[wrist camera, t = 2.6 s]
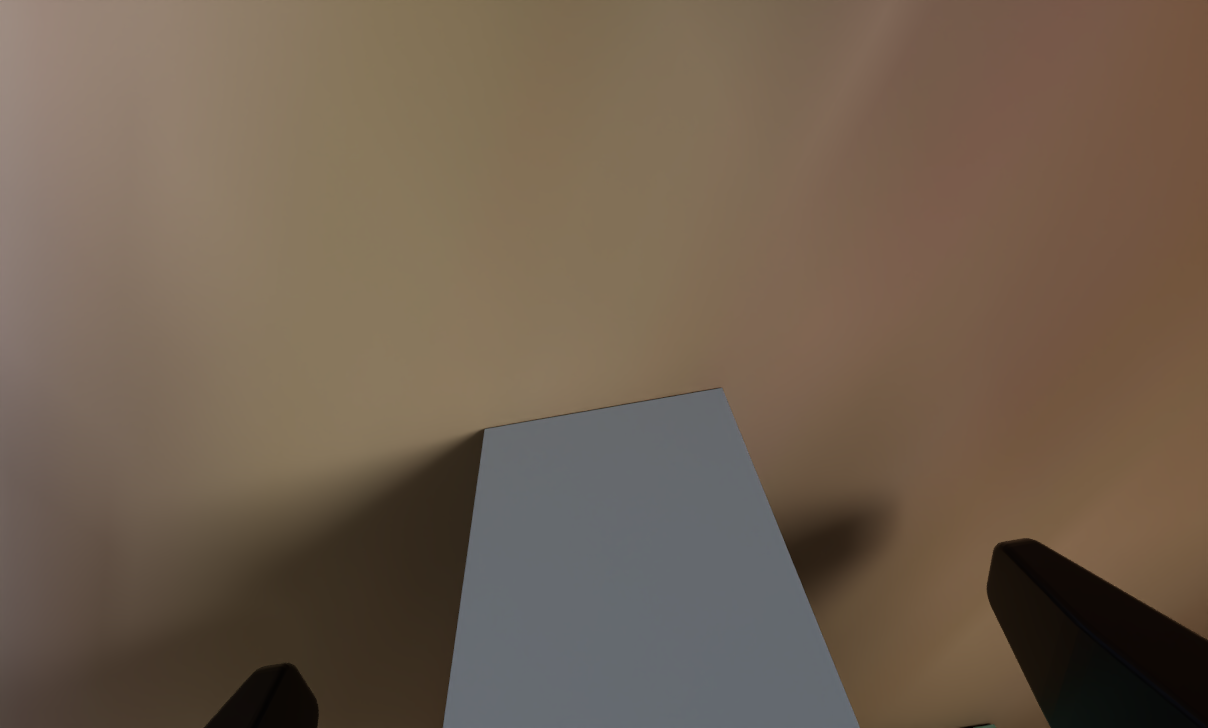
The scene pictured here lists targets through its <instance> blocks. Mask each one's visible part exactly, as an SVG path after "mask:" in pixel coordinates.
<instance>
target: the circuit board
mask: <svg viewBox="0 0 1208 728" xmlns="http://www.w3.org/2000/svg"><path fill="white" fill-rule="evenodd" d="M975 728H996V727H995V725H994V724H993V725H987V726H981V727H975Z"/></svg>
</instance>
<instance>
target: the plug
mask: <svg viewBox="0 0 1208 728" xmlns="http://www.w3.org/2000/svg"><path fill="white" fill-rule="evenodd" d="M443 728H860V727H859V724H858V722H857V720H856V717H855V715H854V712H853V710H852V707H851V705H850V702H849V700H848V697H847V695H846V692H845V690H844V687H843V685H842V683H841V680H840V678H839V675H838V673H837V670H836V668H835V665H834V663H833V660H832V658H831V655H830V653H829V650H828V648H827V646H826V643H825V641H824V638H823V636H822V633H821V631H820V628H819V626H818V623H817V621H816V618H815V616H814V613H813V611H812V609H811V606H810V604H809V601H808V599H807V596H806V594H805V591H804V589H803V586H802V584H801V581H800V579H799V576H798V574H797V572H796V569H795V567H794V564H793V562H792V559H791V557H790V554H789V552H788V549H787V547H786V544H785V542H784V539H783V537H782V535H781V532H780V530H779V527H778V525H777V522H776V520H775V517H774V515H773V512H772V510H771V507H770V505H769V502H768V500H767V498H766V495H765V493H764V490H763V488H762V485H761V483H760V480H759V478H758V475H757V473H756V470H755V468H754V466H753V463H752V461H751V458H750V456H749V453H748V451H747V448H746V446H745V443H744V441H743V438H742V436H741V433H740V431H739V429H738V426H737V424H736V421H735V419H734V416H733V414H732V411H731V409H730V406H729V404H728V401H727V399H726V396H725V394H724V392H723V389H722V388H718V389H713V390H707V391H701V392H695V393H690V394H684V395H678V396H672V397H667V398H661V399H655V400H649V401H644V402H638V403H632V404H626V405H621V406H615V407H609V408H603V409H598V410H592V411H586V412H580V413H575V414H569V415H563V416H557V417H552V418H546V419H540V420H534V421H529V422H523V423H517V424H511V425H506V426H500V427H494V428H488V429H485V431H484V438H483V445H482V453H481V460H480V467H479V474H478V481H477V488H476V495H475V503H474V510H473V517H472V524H471V531H470V538H469V545H468V552H467V560H466V567H465V574H464V581H463V588H462V595H461V602H460V610H459V617H458V624H457V631H456V638H455V645H454V652H453V659H452V667H451V674H450V681H449V688H448V695H447V702H446V709H445V717H444V724H443Z"/></svg>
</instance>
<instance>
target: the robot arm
mask: <svg viewBox="0 0 1208 728" xmlns="http://www.w3.org/2000/svg"><path fill="white" fill-rule="evenodd" d="M987 595H988V599H989V602H990V605H991V607H992V609H993V611H994V613H995V615H996V618H997V620H998V622H999V624H1000V626H1001V628H1002V630H1003V632H1004V634H1005V636H1006V638H1007V640H1008V642H1009V644H1010V646H1011V648H1012V650H1013V653H1014V655H1015V657H1016V659H1017V661H1018V663H1019V665H1020V667H1021V669H1022V671H1023V673H1024V675H1025V677H1026V679H1027V681H1028V683H1029V685H1030V687H1031V690H1032V692H1033V694H1034V696H1035V698H1036V700H1037V702H1038V704H1039V706H1040V708H1041V710H1042V712H1043V714H1044V716H1045V718H1046V719H1047V721H1048V723H1049V725H1050V727H1051V728H1208V640H1207V639H1205V638H1203V637H1201V636H1200V635H1198V634H1196V633H1195V632H1193V631H1191V630H1189V629H1188V628H1186V627H1184V626H1183V625H1181V624H1179V623H1177V622H1176V621H1174V620H1172V619H1171V618H1169V617H1167V616H1165V615H1164V614H1162V613H1160V612H1158V611H1157V610H1155V609H1153V608H1152V607H1150V606H1148V605H1146V604H1145V603H1143V602H1141V601H1140V600H1138V599H1136V598H1134V597H1133V596H1131V595H1129V594H1128V593H1126V592H1124V591H1122V590H1121V589H1119V588H1117V587H1116V586H1114V585H1112V584H1110V583H1109V582H1107V581H1105V580H1103V579H1102V578H1100V577H1098V576H1097V575H1095V574H1093V573H1091V572H1090V571H1088V570H1086V569H1085V568H1083V567H1081V566H1079V565H1078V564H1076V563H1074V562H1073V561H1071V560H1069V559H1067V558H1066V557H1064V556H1062V555H1061V554H1059V553H1057V552H1055V551H1054V550H1052V549H1050V548H1048V547H1047V546H1045V545H1043V544H1042V543H1040V542H1038V541H1036V540H1033V539H1029V538H1023V539H1017V540H1011V541H1005V542H1001V543H998V544H997V545H996V546H995V548H994V550H993V555H992V560H991V565H990V571H989V576H988V582H987ZM318 717H319V710H318V704H317V700H316V698H315V696H314V694H313V693H312V691H311V690H310V688H309V687H308V685H307V683H306V682H305V680H304V679H303V677H302V676H301V674H300V672H299V671H298V669H297V668H296V667H295V666H294V665H293V664H290V663H282V664H276V665H270V666H265V667H261V668H259V669H257V670H256V671H255V672H254V673H253V674H252V675H251V676H250V677H249V678H248V679H247V680H246V681H245V682H244V683H243V685H242V686H241V687H240V688H239V689H238V690H237V691H236V692H235V693H234V695H233V696H232V697H231V698H230V699H229V700H228V701H227V702H226V704H225V705H224V706H223V707H222V708H221V709H220V710H219V711H218V713H217V714H216V715H215V716H214V717H213V718H212V719H211V720H210V722H209V723H208V724H207V725H206V726H205V727H204V728H317V726H318Z"/></svg>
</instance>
